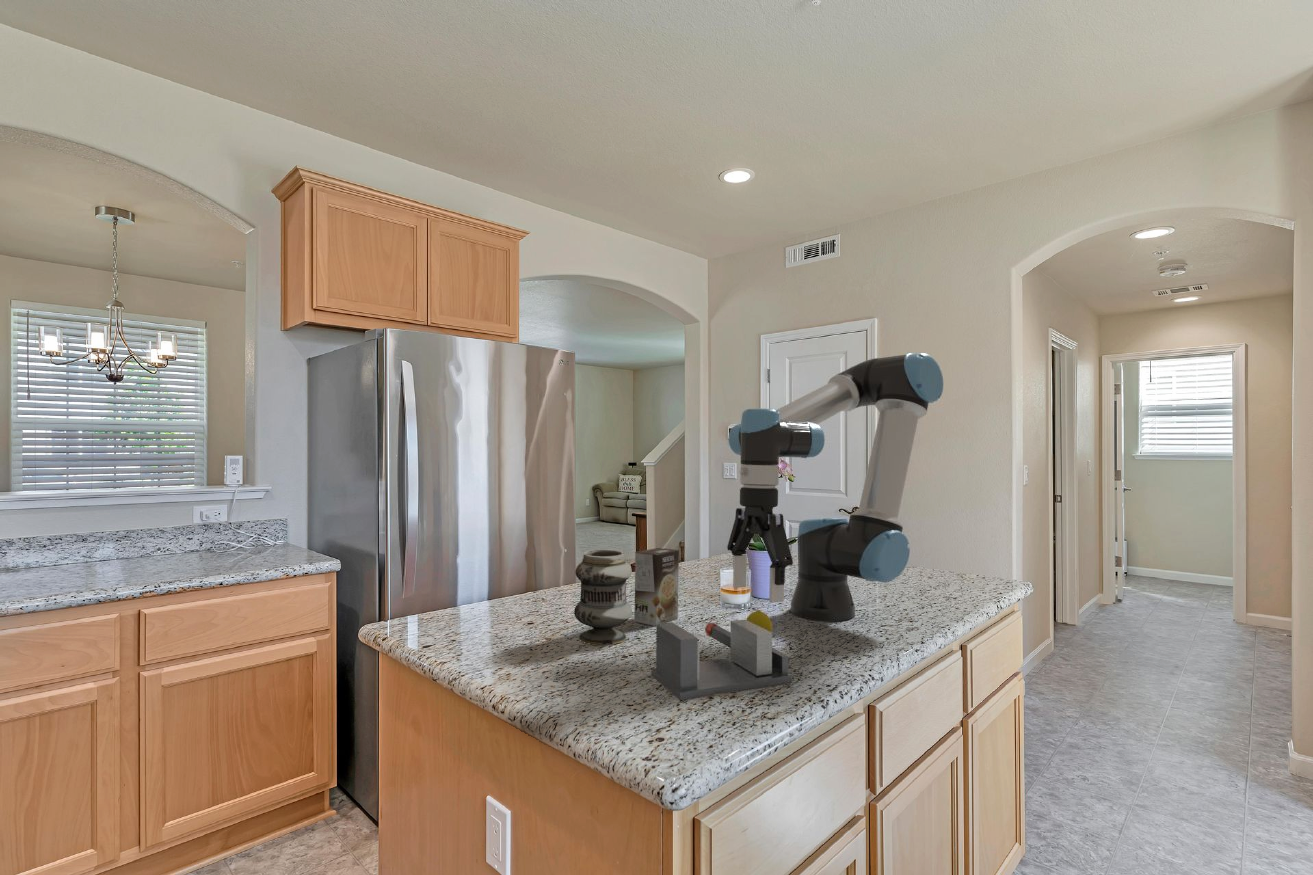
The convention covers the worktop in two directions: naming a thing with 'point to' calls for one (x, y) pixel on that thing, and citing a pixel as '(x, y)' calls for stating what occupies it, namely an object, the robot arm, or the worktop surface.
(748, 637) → the free jaw
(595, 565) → the apothecary jar
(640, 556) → the coffee box
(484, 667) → the worktop surface
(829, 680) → the worktop surface
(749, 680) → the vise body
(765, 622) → the lemon
